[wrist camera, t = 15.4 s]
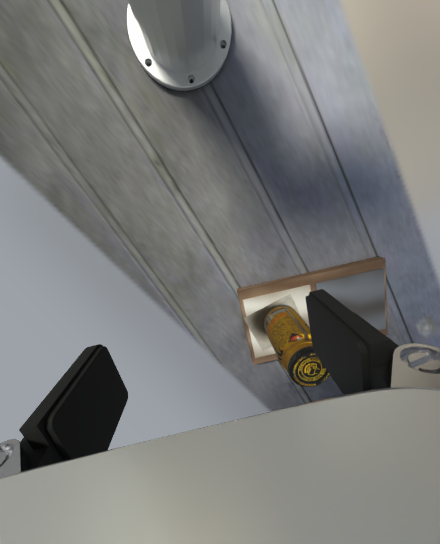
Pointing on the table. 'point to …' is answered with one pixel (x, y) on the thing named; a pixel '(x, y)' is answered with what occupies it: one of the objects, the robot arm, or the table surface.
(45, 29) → the table surface
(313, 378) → the condiment
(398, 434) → the robot arm
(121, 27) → the table surface
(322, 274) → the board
